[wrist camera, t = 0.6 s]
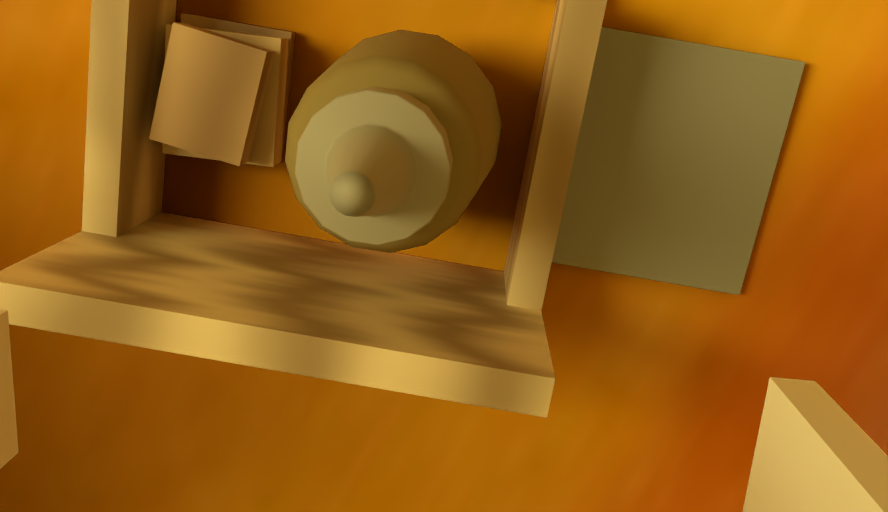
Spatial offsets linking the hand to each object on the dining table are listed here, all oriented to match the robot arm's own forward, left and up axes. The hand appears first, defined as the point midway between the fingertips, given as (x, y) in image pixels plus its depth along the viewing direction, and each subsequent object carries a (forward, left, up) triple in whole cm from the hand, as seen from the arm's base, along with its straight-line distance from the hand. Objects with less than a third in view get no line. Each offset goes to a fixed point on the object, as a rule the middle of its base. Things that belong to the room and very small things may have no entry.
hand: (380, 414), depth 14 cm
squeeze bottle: (-2, +2, -25) cm, 25 cm away
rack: (-5, +2, -25) cm, 25 cm away
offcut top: (-10, +2, -23) cm, 25 cm away
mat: (+10, +2, -25) cm, 27 cm away
